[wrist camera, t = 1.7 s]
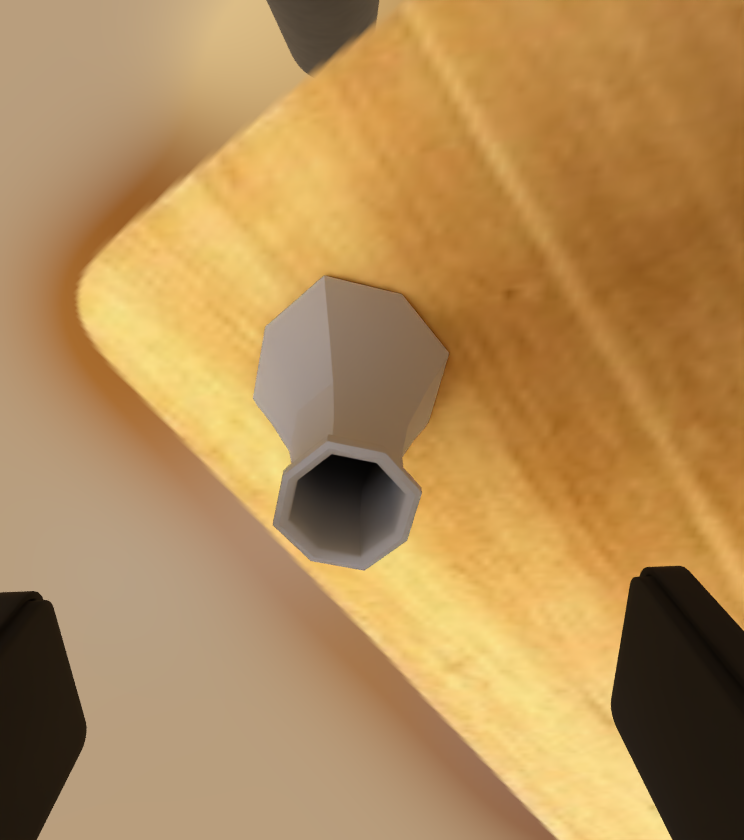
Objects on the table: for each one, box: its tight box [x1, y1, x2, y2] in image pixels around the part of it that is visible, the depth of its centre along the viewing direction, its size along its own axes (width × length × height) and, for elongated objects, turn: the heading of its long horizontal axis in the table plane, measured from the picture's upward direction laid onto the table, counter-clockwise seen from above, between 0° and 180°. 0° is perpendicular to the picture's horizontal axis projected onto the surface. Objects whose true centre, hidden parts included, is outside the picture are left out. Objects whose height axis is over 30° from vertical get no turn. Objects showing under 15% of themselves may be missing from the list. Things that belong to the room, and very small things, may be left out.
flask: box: [253, 276, 449, 570], centre depth 17 cm, size 7×7×10 cm
